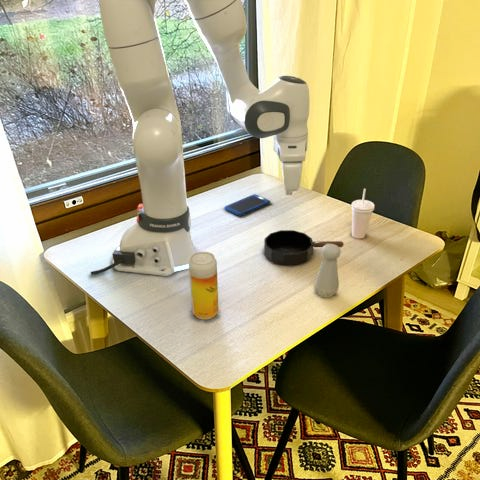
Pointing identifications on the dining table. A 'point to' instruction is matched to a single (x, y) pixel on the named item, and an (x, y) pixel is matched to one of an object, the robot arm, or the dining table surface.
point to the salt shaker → (328, 272)
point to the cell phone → (247, 205)
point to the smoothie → (361, 216)
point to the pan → (291, 247)
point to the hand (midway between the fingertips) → (288, 192)
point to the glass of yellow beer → (203, 285)
